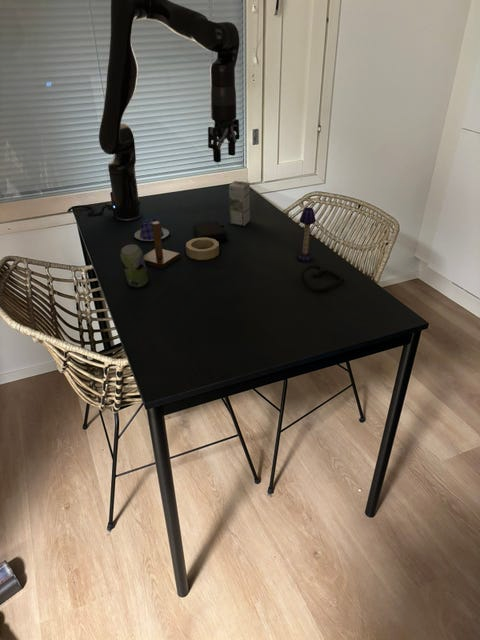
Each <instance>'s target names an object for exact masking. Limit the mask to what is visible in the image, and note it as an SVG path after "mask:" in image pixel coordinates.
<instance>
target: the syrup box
mask: <svg viewBox="0 0 480 640" xmlns="http://www.w3.org/2000/svg"><path fill="white" fill-rule="evenodd" d="M250 189H251V185H250V182H247V181H238V180H235V181H232V182H231V183H230V184H229V185H228V194H229V195H228V196H229V224H231V225H236V226H241V227H242V226H243V227H245V226H246V225H247V224H248V223H250V221H251V214H250V213H251V212H250V211H251V209H250V202H251V201H250V199H251V198H250V197H251V196H250V195H251V193H250V192H251V191H250Z"/></svg>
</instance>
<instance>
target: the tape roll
mask: <svg viewBox="0 0 480 640" xmlns="http://www.w3.org/2000/svg"><path fill="white" fill-rule="evenodd" d="M185 254H186V256H187V257H188V258H190V259H193V260H196V261H206V260H210V259H215V258H216V257H217V256H219V254H220V242H218V241H216V240H215V239H211V238H198V237H196V238H192V239H190V240H188V241H187V242H186V244H185Z"/></svg>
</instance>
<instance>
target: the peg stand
mask: <svg viewBox="0 0 480 640" xmlns="http://www.w3.org/2000/svg"><path fill="white" fill-rule="evenodd" d="M158 221H159V220H158ZM158 221H155V222H153V223H152V226H153V234H154V241H153V243H154V249H152V250H150V251H149V252H147V253H145V254H143V257H144V261H145V265H146V266H150V267H154V268H158V269H162V270H163V269H165V268H167V267H168V266H170V265H171V264H173V263H175V262H176V261H177V260H178V259H180V258H181V254H180V253H179V252H175V251H172V250H168V249H163V243H162V239H161V232H160V226H161V224H160V223H161V222H160V221H159V222H158Z"/></svg>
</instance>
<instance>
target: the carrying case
mask: <svg viewBox="0 0 480 640" xmlns="http://www.w3.org/2000/svg"><path fill="white" fill-rule="evenodd" d="M192 229H193V231H194V233H195V235H196V238H211V239H215V240H216V241H218V242H219V243H220V242H225V240H226V239H227V238H228V234H227V233H226V231H225V225H224V224H222V223H221V222H218V221H217V220H214V219H213V220H205V221H204V220H203V221H197V222H194V223H193V225H192Z"/></svg>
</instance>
